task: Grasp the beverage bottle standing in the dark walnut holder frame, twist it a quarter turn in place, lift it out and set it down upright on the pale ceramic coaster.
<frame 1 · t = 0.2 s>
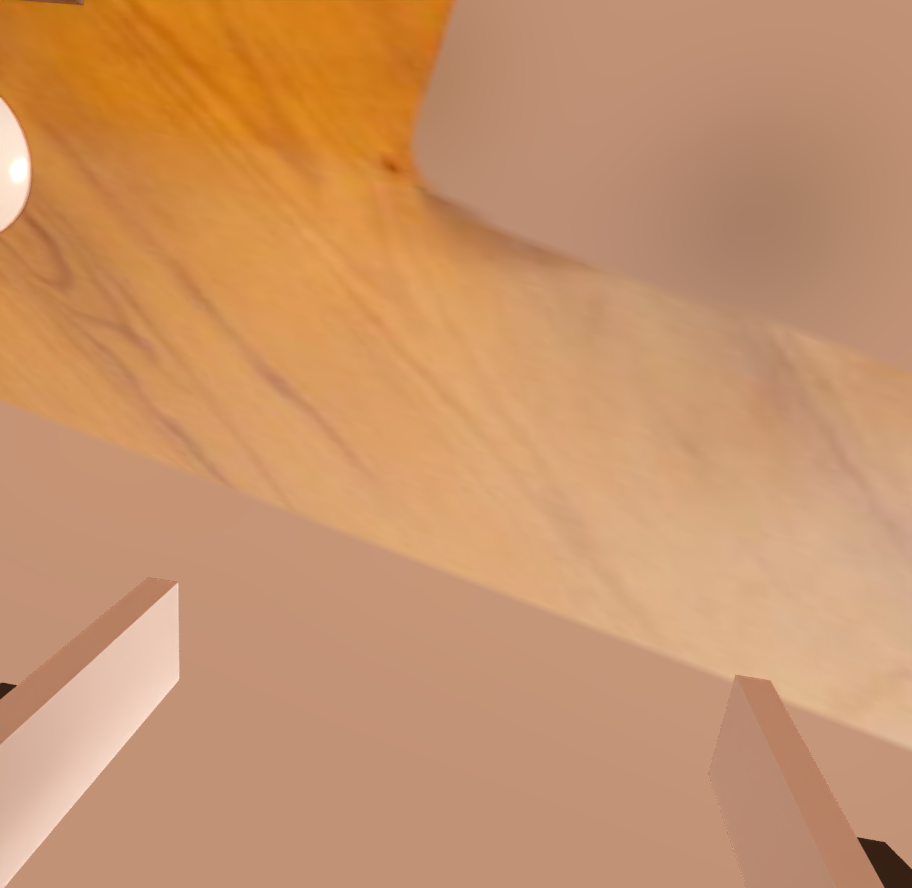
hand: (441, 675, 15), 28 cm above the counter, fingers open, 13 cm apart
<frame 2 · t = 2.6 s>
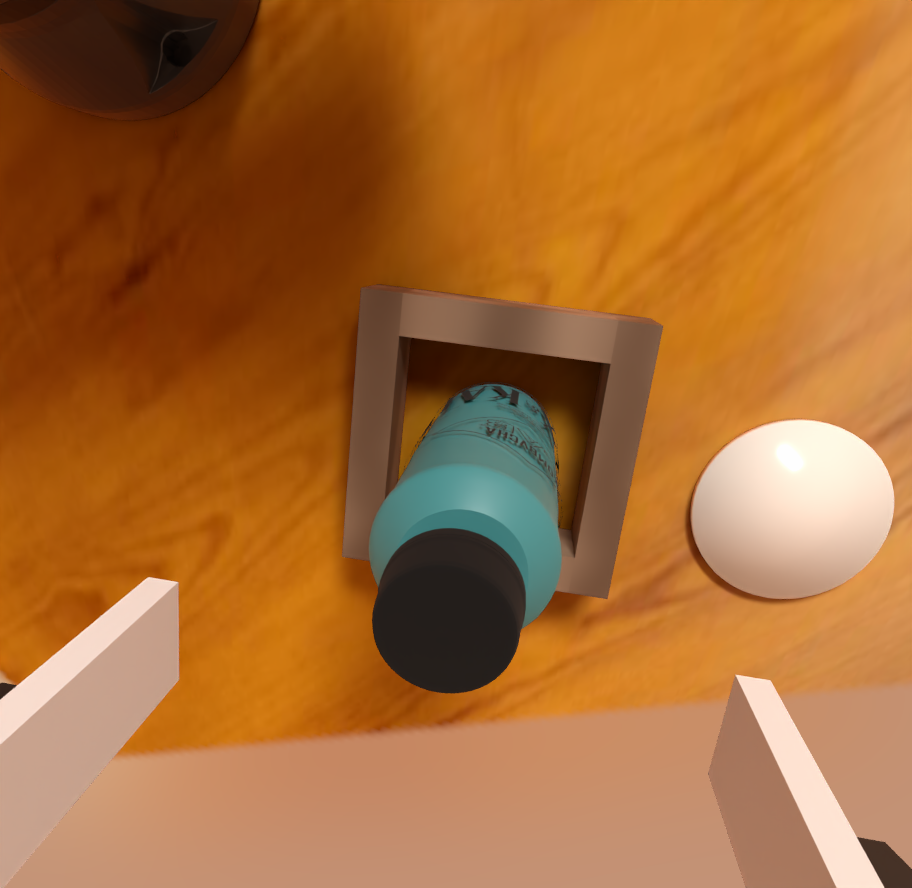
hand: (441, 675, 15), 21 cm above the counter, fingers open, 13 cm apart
beverage bottle: (494, 430, 36), resting in holder
holder: (494, 431, 36), on the counter
coaster: (787, 510, 35), on the counter
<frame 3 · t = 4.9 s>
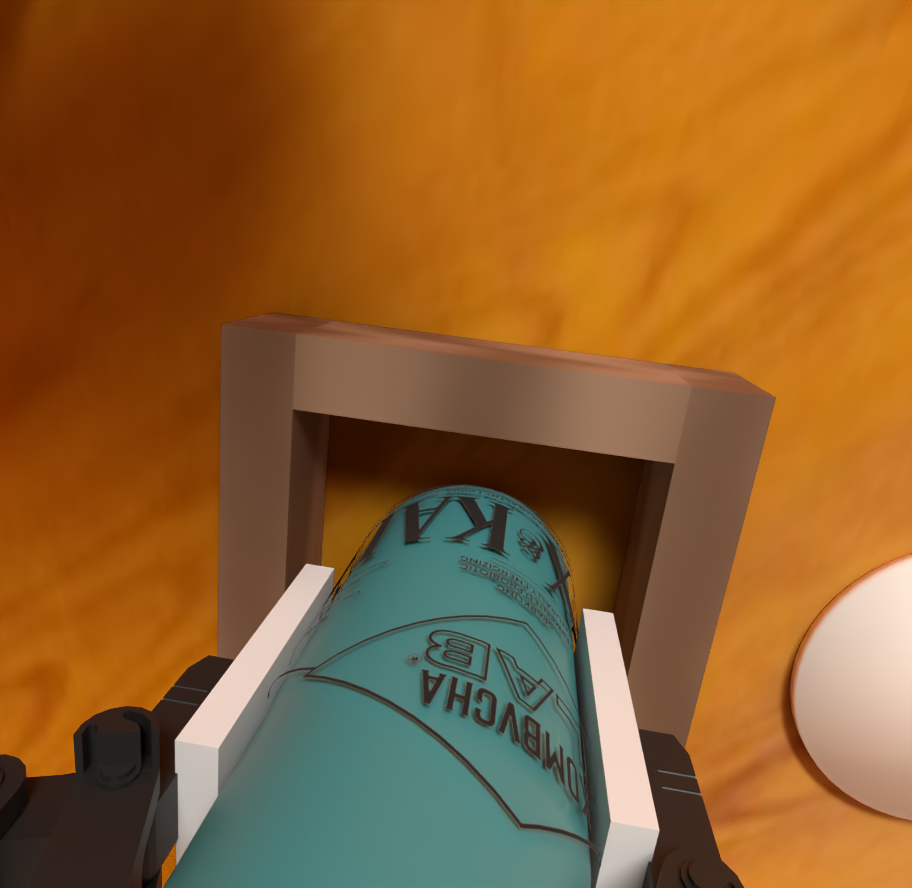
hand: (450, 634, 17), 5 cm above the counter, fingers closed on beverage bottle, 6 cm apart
beverage bottle: (469, 549, 22), resting in holder, touching gripper
holder: (469, 552, 22), on the counter
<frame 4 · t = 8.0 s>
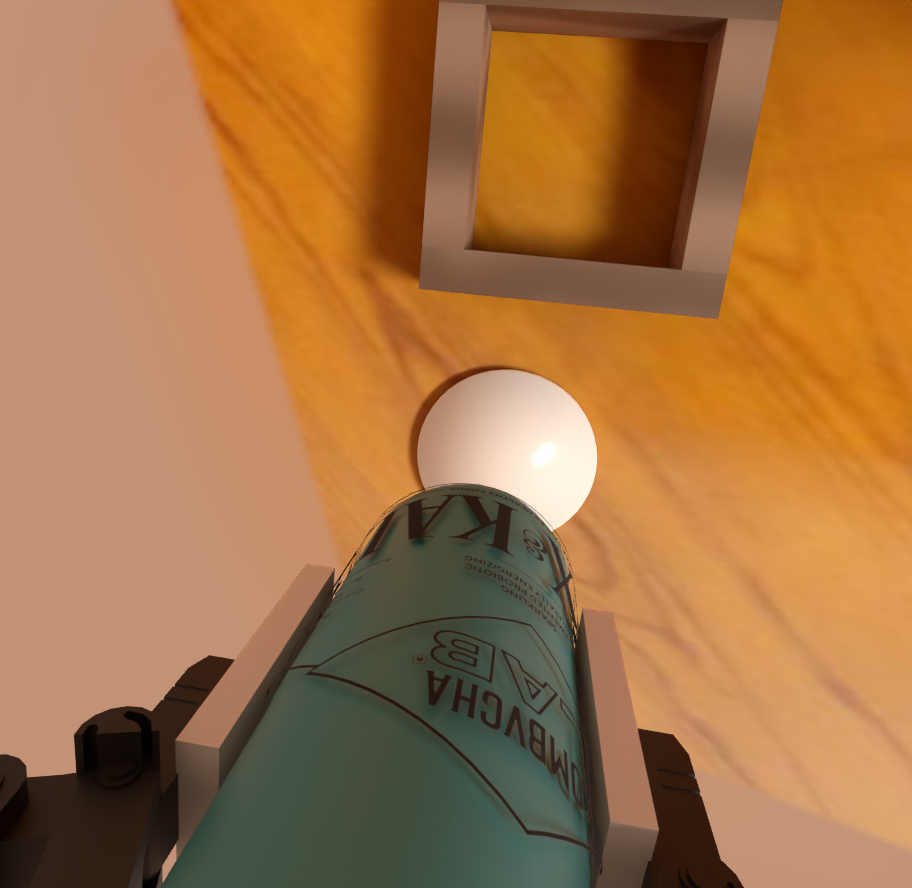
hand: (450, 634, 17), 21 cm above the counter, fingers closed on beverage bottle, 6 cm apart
beverage bottle: (470, 548, 22), point 16 cm above the counter, touching gripper
holder: (582, 152, 32), on the counter
coaster: (505, 456, 37), on the counter
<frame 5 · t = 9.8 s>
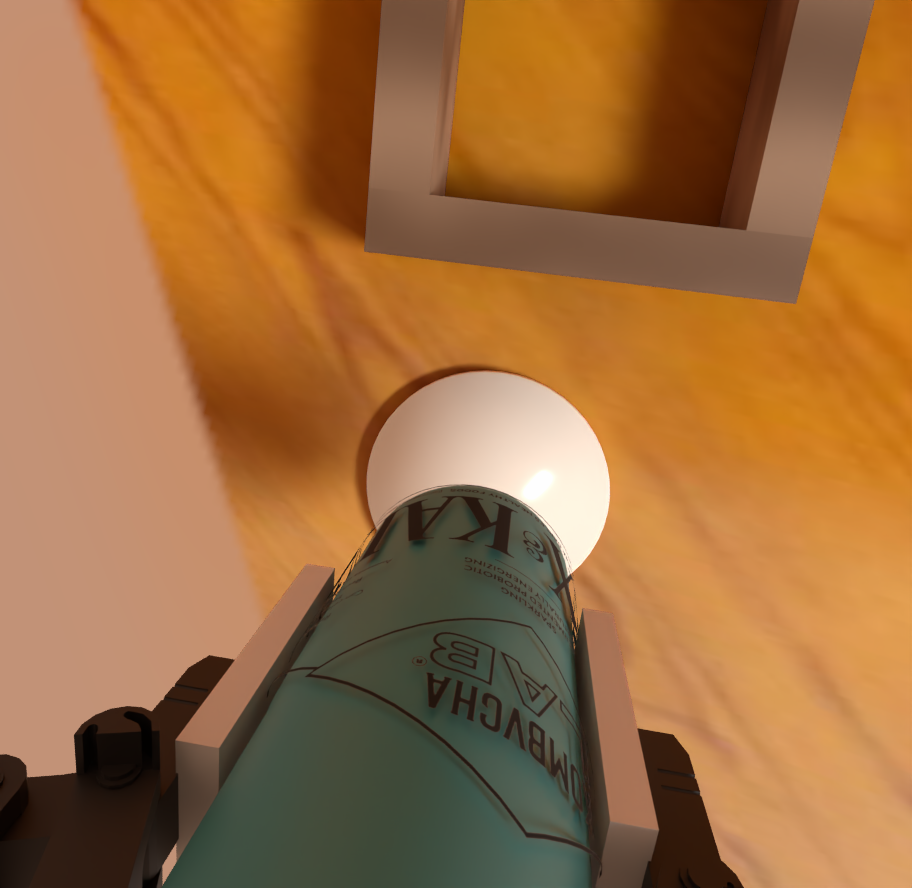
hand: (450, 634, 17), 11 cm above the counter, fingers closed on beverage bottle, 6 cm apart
beverage bottle: (470, 549, 22), point 6 cm above the counter, touching gripper
holder: (602, 65, 23), on the counter
coaster: (486, 488, 28), on the counter
when the fingers open (7 cm above the counter, at t = 11.4 s): beverage bottle drops 1 cm, resting on coaster.
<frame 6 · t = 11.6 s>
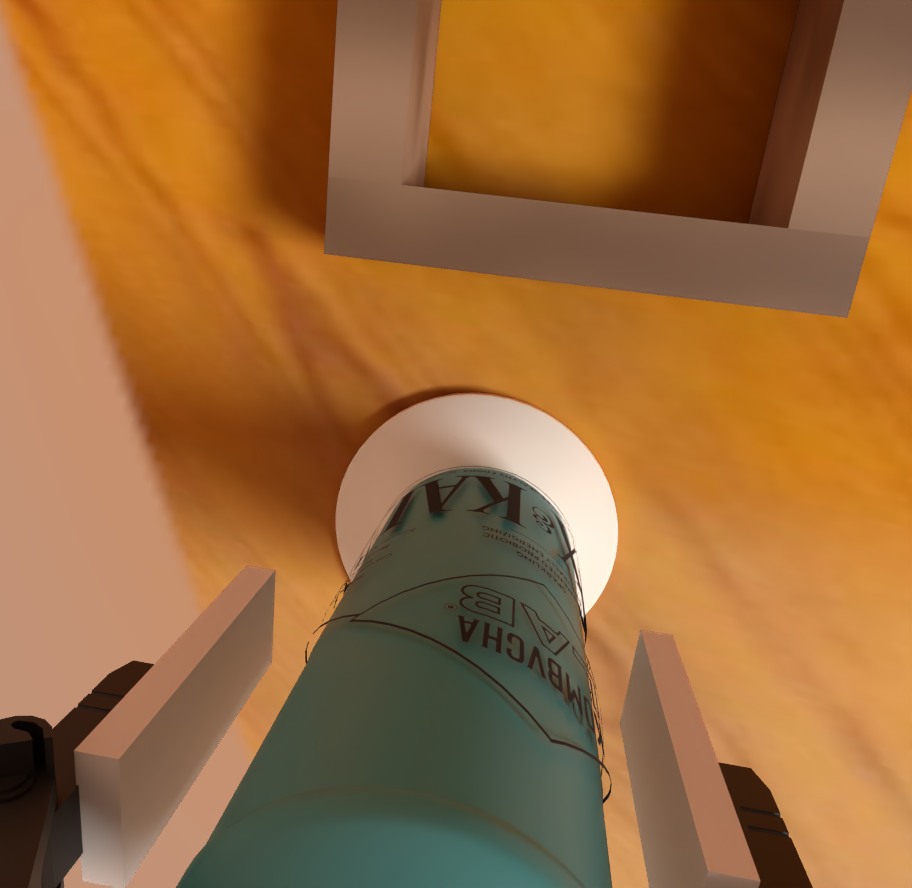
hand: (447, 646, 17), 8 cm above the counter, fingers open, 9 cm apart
beverage bottle: (478, 530, 23), resting on coaster
holder: (610, 31, 19), on the counter
coaster: (474, 528, 24), on the counter
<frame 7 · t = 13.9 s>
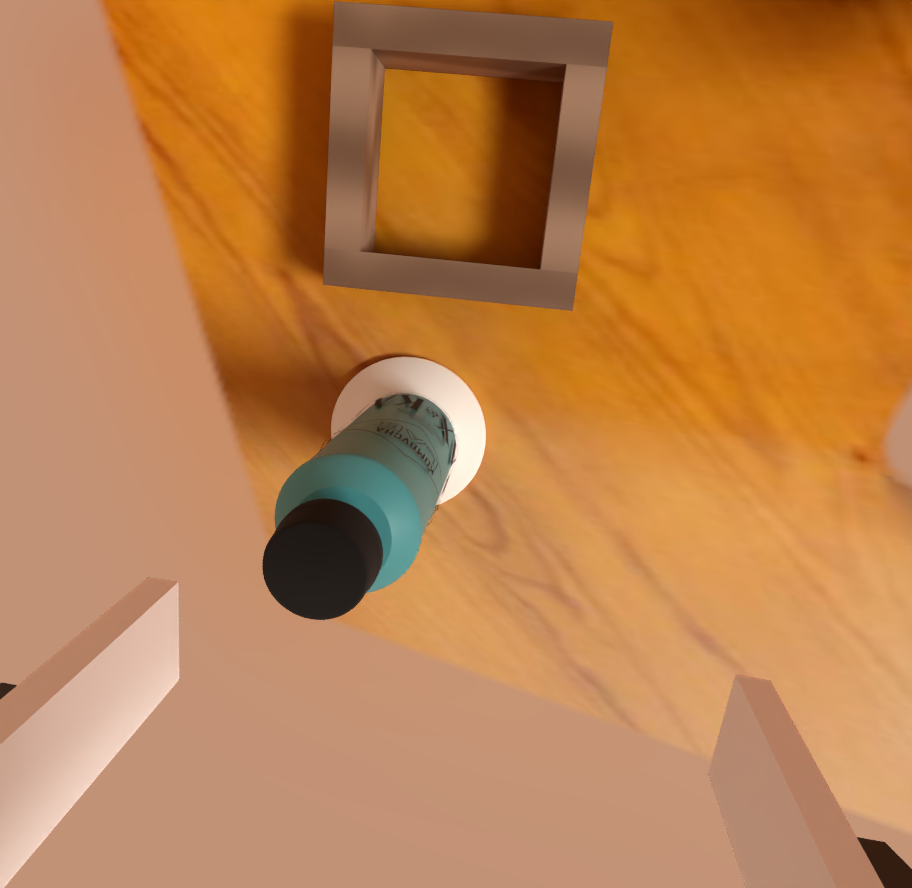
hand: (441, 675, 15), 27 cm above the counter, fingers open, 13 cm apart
beverage bottle: (410, 433, 42), resting on coaster
holder: (464, 171, 38), on the counter
coaster: (408, 433, 43), on the counter
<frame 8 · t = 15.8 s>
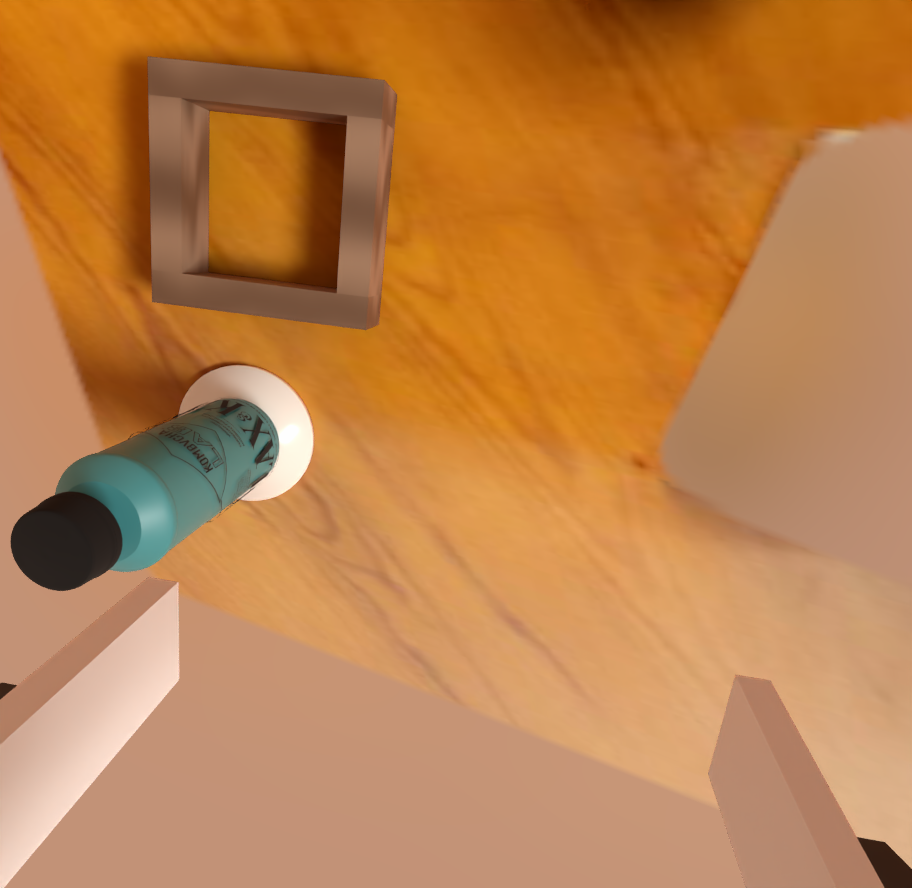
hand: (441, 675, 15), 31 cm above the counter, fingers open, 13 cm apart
beverage bottle: (247, 433, 47), resting on coaster
holder: (282, 202, 43), on the counter
coaster: (247, 433, 48), on the counter
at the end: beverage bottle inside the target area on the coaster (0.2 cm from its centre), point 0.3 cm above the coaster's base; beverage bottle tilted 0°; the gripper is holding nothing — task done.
